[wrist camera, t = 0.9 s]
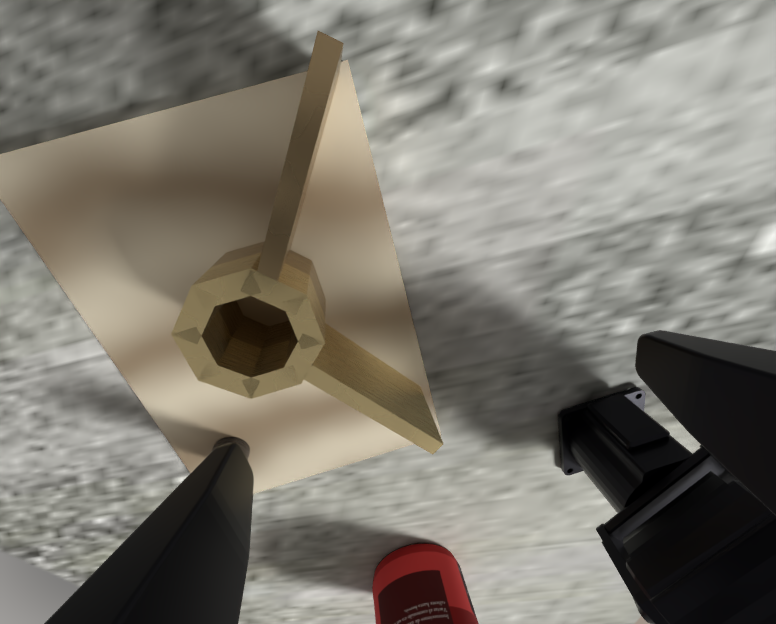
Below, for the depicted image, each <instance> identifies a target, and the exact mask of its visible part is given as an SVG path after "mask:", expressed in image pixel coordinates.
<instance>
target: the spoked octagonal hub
mask: <svg viewBox="0 0 776 624" xmlns="http://www.w3.org/2000/svg"><path fill="white" fill-rule="evenodd" d="M342 50H343V43H342V42H340V41H338V40H336V39H334V38H332V37H330V36H328V35H326V34H324V33H322V32H320V31H318V32H317V36H316V40H315V44H314V48H313V52H312V56H311V60H310V64H309V68H308V72H307V76H306V80H305V84H304V88H303V92H302V96H301V100H300V103H299V107H298V111H297V115H296V119H295V123H294V127H293V131H292V135H291V139H290V143H289V147H288V151H287V155H286V159H285V163H284V167H283V171H282V175H281V179H280V183H279V187H278V191H277V195H276V198H275V202H274V206H273V210H272V214H271V218H270V222H269V226H268V230H267V234H266V238H265V241H264V242H260V243H257V244H253V245H250V246H246V247H243V248H239V249H236V250H232V251H229V252H226V253H225V254H224V255H223V256H222V257H221V258H220V259H219V260H218V261H217V262H216V263H215V264H214V265H213V266H212V267H210V268H209V269H208V270H207V271H206V272H205V273H204V274H203V275H202V276H201V277H200V278H199V279H198V280H197V281H196V282H195V283H194V284H193V285H192V286H191V288H190V290H189V293H188V295H187V298H186V300H185V302H184V305H183V307H182V309H181V312H180V314H179V316H178V319H177V321H176V324H175V326H174V328H173V331H172V333H171V335H172V337H173V339H174V340H175V342H176V344H177V346H178V347H179V349H180V351H181V352H182V354H183V356H184V357H185V359H186V361H187V363H188V364H189V366H190V368H191V369H192V371H193V373H194V374H195V376H196V378H197V380H198V381H201V382H204V383H207V384H209V385H212V386H215V387H218V388H221V389H224V390H227V391H230V392H232V393H235V394H238V395H241V396H244V397H247V398H250V399H253V398H256V397H259V396H263V395H266V394H269V393H273V392H276V391H279V390H283V389H286V388H289V387H293V386H296V385H299V384H302V382H303V380H305V381H307V382H309V383H310V384H312V385H314V386H316V387H317V388H319V389H321V390H323V391H324V392H326V393H328V394H329V395H331V396H333V397H335V398H336V399H338V400H340V401H342V402H343V403H345V404H347V405H348V406H350V407H352V408H354V409H355V410H357V411H359V412H361V413H362V414H364V415H366V416H367V417H369V418H371V419H373V420H374V421H376V422H378V423H380V424H381V425H383V426H385V427H386V428H388V429H390V430H392V431H393V432H395V433H397V434H399V435H400V436H402V437H404V438H405V439H407V440H409V441H411V442H412V443H414V444H416V445H417V446H419V447H421V448H423V449H424V450H426V451H428V452H430V453H431V454H434V453H435V452H436V451H437V450H438V449H439V448H440V447H441V446H442V445H443V442H442V439H441V437H440V434H439V432H438V429H437V427H436V424H435V422H434V419H433V417H432V414H431V412H430V409H429V406H428V404H427V401H426V399H425V396H424V394H423V391H422V389H421V386H419V385H418V384H416V383H415V382H413V381H412V380H410V379H409V378H407V377H406V376H404V375H403V374H401V373H400V372H398V371H397V370H395V369H394V368H392V367H391V366H389V365H388V364H386V363H384V362H383V361H381V360H380V359H378V358H377V357H375V356H374V355H372V354H371V353H369V352H368V351H366V350H365V349H363V348H362V347H360V346H359V345H357V344H356V343H354V342H353V341H351V340H350V339H348V338H347V337H345V336H344V335H342V334H341V333H339V332H338V331H336V330H335V329H333V328H332V327H330V326H329V325H327V324H326V323H325V315H326V298H325V295H324V293H323V290H322V287H321V284H320V281H319V279H318V276H317V273H316V270H315V267H314V265H313V262H312V260H310V259H308V258H306V257H304V256H302V255H300V254H298V253H296V252H294V251H292V250H290V249H291V246H292V242H293V239H294V235H295V232H296V228H297V225H298V221H299V217H300V214H301V210H302V207H303V203H304V200H305V196H306V192H307V189H308V185H309V182H310V178H311V174H312V171H313V167H314V164H315V160H316V157H317V153H318V149H319V146H320V142H321V139H322V135H323V132H324V128H325V124H326V121H327V117H328V114H329V110H330V106H331V103H332V99H333V96H334V92H335V89H336V85H337V81H338V78H339V73H340V65H341V58H342ZM248 296H252V297H255V298H257V299H259V300H261V301H264V302H266V303H268V304H270V305H273V306H275V307H277V308H280V309H282V310H284V311H286V313H287V316H288V318H289V320H288V321H285V322H282V323H278V324H275V325H271V326H267V325H265V324H262V323H260V322H258V321H255V320H253V319H251V318H248V317H246V316H244V315H243V313H242V311H241V309H240V307H239V305H238V303H237V301H236V300H238V299H242V298H245V297H248Z"/></svg>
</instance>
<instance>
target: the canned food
mask: <svg viewBox="0 0 776 624" xmlns="http://www.w3.org/2000/svg"><path fill="white" fill-rule="evenodd" d="M372 588H373V599H374V609H375V619H376V624H478V621H477V618H476V615H475V611H474V608H473V605H472V602H471V599H470V596H469V593H468V590H467V587H466V584H465V581H464V578H463V574H462V571H461V568H460V566H459V564H458V562H457V561H456V559H455V558H454V556H453V555H452V553H451V552H449V551H448V550H447V549H445V548H443V547H441V546H438V545H434V544H425V543H424V544H413V545H408V546H405V547H402V548H400V549H397V550H395V551H393V552H392V553H390V554H389V555H387V556H386V557H385V558H384V559H383V560H382V561H381V562H380V563H379V565H378V566H377V568H376V570H375V574H374V580H373V587H372Z"/></svg>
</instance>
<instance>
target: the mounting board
mask: <svg viewBox="0 0 776 624" xmlns="http://www.w3.org/2000/svg"><path fill="white" fill-rule="evenodd" d="M307 72H308V71H305V72H302V73H298V74H294V75H290V76H287V77H283V78H279V79H276V80H272V81H268V82H265V83H261V84H257V85H254V86H250V87H246V88H242V89H239V90H235V91H231V92H228V93H224V94H220V95H217V96H213V97H209V98H206V99H202V100H198V101H194V102H191V103H187V104H183V105H180V106H176V107H172V108H169V109H165V110H161V111H158V112H154V113H150V114H146V115H143V116H139V117H135V118H132V119H128V120H124V121H121V122H117V123H113V124H109V125H106V126H102V127H98V128H95V129H91V130H87V131H84V132H80V133H76V134H73V135H69V136H65V137H61V138H58V139H54V140H50V141H47V142H43V143H39V144H36V145H32V146H28V147H25V148H21V149H17V150H13V151H10V152H6V153H2V154H0V199H1V201H2V202H3V204H4V205H5V207H6V208H7V209H8V211H9V212H10V214H11V215H12V217H13V218H14V220H15V221H16V222H17V224H18V225H19V227H20V228H21V230H22V231H23V232H24V234H25V235H26V237H27V238H28V240H29V241H30V243H31V244H32V245H33V247H34V248H35V250H36V251H37V253H38V254H39V256H40V257H41V258H42V260H43V261H44V263H45V264H46V266H47V267H48V269H49V270H50V271H51V273H52V274H53V276H54V277H55V279H56V280H57V281H58V283H59V284H60V286H61V287H62V289H63V290H64V292H65V293H66V294H67V296H68V297H69V299H70V300H71V302H72V303H73V305H74V306H75V307H76V309H77V310H78V312H79V313H80V315H81V316H82V317H83V319H84V320H85V322H86V323H87V325H88V326H89V328H90V329H91V330H92V332H93V333H94V335H95V336H96V338H97V339H98V341H99V342H100V343H101V345H102V346H103V348H104V349H105V351H106V352H107V354H108V355H109V356H110V358H111V359H112V361H113V362H114V364H115V365H116V366H117V368H118V369H119V371H120V372H121V374H122V375H123V377H124V378H125V379H126V381H127V382H128V384H129V385H130V387H131V388H132V390H133V391H134V392H135V394H136V395H137V397H138V398H139V400H140V401H141V402H142V404H143V405H144V407H145V408H146V410H147V411H148V413H149V414H150V415H151V417H152V418H153V420H154V421H155V423H156V424H157V426H158V427H159V428H160V430H161V431H162V433H163V434H164V436H165V437H166V438H167V440H168V441H169V443H170V444H171V446H172V447H173V449H174V450H175V451H176V453H177V454H178V456H179V457H180V459H181V460H182V462H183V463H184V464H185V466H186V467H187V469H188V470H189V472H190V473H192V471H193V470H194V469H195V468H196V467H197V466H198V465H199V464H200V463H201V462H202V461H203V460H204V459H205V458H206V457H207V456H208V455H209V454H210V453H211V451H212V449H213V446H214V444H215V443H216V442H217V441H218V440H220V439H222V438H225V437H238V438H241V439H243V440H244V441H246V442H247V443H248V445H249V447H250V454H249V458H248V462H249V464H250V466H251V468H252V471H253V476H254V486H253V494H255V493H258V492H261V491H264V490H268V489H271V488H274V487H277V486H280V485H284V484H287V483H290V482H293V481H297V480H300V479H303V478H306V477H309V476H313V475H316V474H319V473H322V472H326V471H329V470H332V469H335V468H338V467H342V466H345V465H348V464H351V463H354V462H358V461H361V460H364V459H367V458H371V457H374V456H377V455H380V454H383V453H387V452H390V451H393V450H396V449H400V448H403V447H406V446H409V445H412V444H414V443H412V442H411V441H409V440H407V439H405V438H404V437H402V436H400V435H399V434H397V433H395V432H393V431H392V430H390V429H388V428H386V427H385V426H383V425H381V424H380V423H378V422H376V421H374V420H373V419H371V418H369V417H367V416H366V415H364V414H362V413H361V412H359V411H357V410H355V409H354V408H352V407H350V406H348V405H347V404H345V403H343V402H342V401H340V400H338V399H336V398H335V397H333V396H331V395H329V394H328V393H326V392H324V391H323V390H321V389H319V388H317V387H316V386H314V385H312V384H310V383H309V382H307V381H305V380H303V382H302V384H299V385H296V386H293V387H289V388H286V389H283V390H279V391H276V392H273V393H269V394H266V395H263V396H259V397H256V398H253V399H250V398H247V397H244V396H241V395H238V394H235V393H232V392H230V391H227V390H224V389H221V388H218V387H215V386H212V385H209V384H207V383H204V382H201V381H198V380H197V378H196V376H195V374H194V373H193V371H192V369H191V368H190V366H189V364H188V363H187V361H186V359H185V357H184V356H183V354H182V352H181V351H180V349H179V347H178V346H177V344H176V342H175V340H174V339H173V337H172V335H171V333H172V331H173V328H174V326H175V324H176V321H177V319H178V316H179V314H180V312H181V309H182V307H183V305H184V302H185V300H186V298H187V295H188V293H189V290H190V288H191V286H192V285H193V284H194V283H195V282H196V281H197V280H198V279H199V278H200V277H201V276H202V275H203V274H204V273H205V272H206V271H207V270H208V269H209V268H210V267H212V266H213V265H214V264H215V263H216V262H217V261H218V260H219V259H220V258H221V257H222V256H223V255H224V254H225V253H226V252H229V251H232V250H236V249H239V248H243V247H246V246H250V245H253V244H257V243H260V242H264V241H265V238H266V234H267V230H268V226H269V222H270V218H271V214H272V210H273V206H274V202H275V198H276V195H277V191H278V187H279V183H280V179H281V175H282V171H283V167H284V163H285V159H286V155H287V151H288V147H289V143H290V139H291V135H292V131H293V127H294V123H295V119H296V115H297V111H298V107H299V103H300V100H301V96H302V92H303V88H304V84H305V80H306V76H307ZM290 250H292V251H294V252H296V253H298V254H300V255H302V256H304V257H306V258H308V259H310V260H312V262H313V265H314V267H315V270H316V273H317V276H318V279H319V281H320V284H321V287H322V290H323V293H324V295H325V298H326V315H325V323H326V324H327V325H329V326H330V327H332V328H333V329H335V330H336V331H338V332H339V333H341V334H342V335H344V336H345V337H347V338H348V339H350V340H351V341H353V342H354V343H356V344H357V345H359V346H360V347H362V348H363V349H365V350H366V351H368V352H369V353H371V354H372V355H374V356H375V357H377V358H378V359H380V360H381V361H383V362H384V363H386V364H388V365H389V366H391V367H392V368H394V369H395V370H397V371H398V372H400V373H401V374H403V375H404V376H406V377H407V378H409V379H410V380H412V381H413V382H415V383H416V384H418V385H419V386H421V389H422V391H423V394H424V396H425V399H426V401H427V404H428V406H429V409H430V412H431V414H432V417H433V419H434V422H435V424H436V427H437V429H438V432H439V434H440V436H441V432H440V428H439V424H438V420H437V416H436V412H435V408H434V404H433V400H432V396H431V392H430V388H429V384H428V380H427V376H426V372H425V368H424V364H423V360H422V356H421V352H420V348H419V344H418V340H417V336H416V332H415V328H414V324H413V320H412V316H411V312H410V308H409V304H408V300H407V296H406V292H405V288H404V284H403V280H402V276H401V272H400V268H399V264H398V260H397V256H396V252H395V248H394V243H393V239H392V235H391V231H390V227H389V223H388V219H387V215H386V211H385V207H384V203H383V199H382V195H381V191H380V187H379V183H378V179H377V175H376V171H375V167H374V163H373V159H372V155H371V151H370V147H369V143H368V139H367V135H366V131H365V127H364V123H363V119H362V115H361V111H360V107H359V103H358V99H357V95H356V91H355V87H354V83H353V79H352V75H351V71H350V67H349V63H348V60H346V61H342V62H341V65H340V73H339V78H338V81H337V85H336V89H335V92H334V96H333V99H332V103H331V106H330V110H329V114H328V117H327V121H326V124H325V128H324V132H323V135H322V139H321V142H320V146H319V149H318V153H317V157H316V160H315V164H314V167H313V171H312V174H311V178H310V182H309V185H308V189H307V192H306V196H305V200H304V203H303V207H302V210H301V214H300V217H299V221H298V225H297V228H296V232H295V235H294V239H293V242H292V246H291V249H290ZM236 301H237V303H238V305H239V307H240V309H241V311H242V313H243V315H244V316H246V317H248V318H251V319H253V320H255V321H258V322H260V323H262V324H265V325H267V326H271V325H275V324H278V323H282V322H285V321H288V320H289V318H288V316H287V313H286V311H284V310H282V309H280V308H277V307H275V306H273V305H270V304H268V303H266V302H264V301H261V300H259V299H257V298H255V297H252V296H248V297H245V298H242V299H238V300H236Z"/></svg>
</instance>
